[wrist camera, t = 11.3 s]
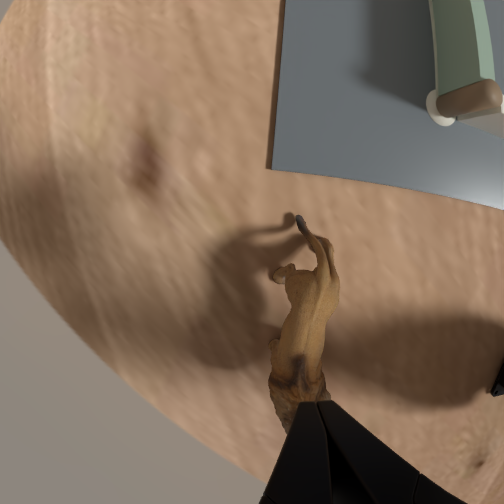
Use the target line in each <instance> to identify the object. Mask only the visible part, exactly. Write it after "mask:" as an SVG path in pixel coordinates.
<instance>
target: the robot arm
mask: <svg viewBox="0 0 504 504" xmlns="http://www.w3.org/2000/svg"><path fill="white" fill-rule="evenodd" d="M503 394H504V364H503V366H502V368H501V371H500V373H499V375H498V378H497V380H496V382H495V384H494V386H493V389H492V391H491V395H492V396H493V397H495V396H499V395H503ZM419 474H420V472H419V471H418V470H417V469H415V468H414V467H413V466H412V465H410V464H409V463H408V462H407V461H405V460H404V459H403V458H402V457H400V456H399V455H398V454H397V453H395V452H394V451H393V450H392V449H390V448H389V447H388V446H387V445H385V444H384V443H383V442H382V441H380V440H379V439H378V438H377V437H376V436H374V435H373V434H372V433H371V432H370V431H368V430H367V429H366V428H365V427H364V426H362V425H361V424H360V423H359V422H358V421H356V420H355V419H354V418H353V417H352V416H351V415H349V414H348V413H347V412H346V411H345V410H343V409H342V408H341V407H340V406H339V405H338V404H337V403H335V402H334V401H333V400H320V401H317V402H314V401H302V402H299V404H298V407H297V409H296V412H295V415H294V418H293V421H292V423H291V426H290V429H289V431H288V434H287V437H286V439H285V442H284V444H283V447H282V450H281V452H280V455H279V457H278V460H277V462H276V465H275V467H274V470H273V472H272V474H271V477H270V479H269V482H268V484H267V486H266V489H265V491H264V493H263V496H262V497H261V499H260V502H259V504H467V503H466V502H464V501H462V500H460V499H459V498H457V497H455V496H454V495H452V494H450V493H449V492H447V491H445V490H444V489H443V488H441V487H440V486H438V485H437V484H435V483H434V482H433V481H431V480H430V479H429V478H427V477H426V476H425V475H423V474H420V475H419Z"/></svg>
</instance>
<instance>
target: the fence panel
mask: <svg viewBox="0 0 504 504" xmlns="http://www.w3.org/2000/svg"><path fill="white" fill-rule="evenodd" d="M432 4H433V12H434V21H435V31H436V43H437V60H438V96H439V97H438V98H437V100H436V108H437V110H438V112H439V113H440V115H442V116H443V117H445V118H451V117H455V116H459V115H464V114H468V113H472V112H477V111H481V110H486V109H491V108H495V107H499V106H501V104H502V102H503V95H502V91H501V89H500V87H499V85H498V84H497V83H496V82H495V72H494V62H493V53H492V45H491V38H490V32H489V26H488V20H487V15H486V10H485V5H484V1H483V0H432Z"/></svg>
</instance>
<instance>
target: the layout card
mask: <svg viewBox="0 0 504 504" xmlns="http://www.w3.org/2000/svg"><path fill="white" fill-rule="evenodd" d="M483 1H484V5H485V10H486V15H487V20H488V26H489V32H490V38H491V45H492V53H493V62H494V72H495V82H496V83H497V84H498V85H499V87H500V89H501V91H502V94H503V95H504V0H483ZM438 97H439V96H438V60H437V43H436V31H435V21H434V12H433V4H432V0H286V2H285V15H284V28H283V41H282V53H281V66H280V78H279V90H278V101H277V113H276V124H275V136H274V147H273V158H272V169H271V170H279V171H288V172H297V173H306V174H314V175H322V176H330V177H337V178H344V179H351V180H358V181H365V182H371V183H377V184H383V185H389V186H395V187H401V188H406V189H411V190H417V191H422V192H427V193H432V194H437V195H442V196H447V197H451V198H456V199H460V200H465V201H469V202H474V203H478V204H482V205H486V206H490V207H494V208H498V209H502V210H504V139H503V138H500V137H498V136H496V135H493V134H491V133H488V132H486V131H483V130H480V129H478V128H475V127H472V126H470V125H467V124H464V123H461V122H459V121H457V120H458V116H455V117H451V118H445V117H443V116H442V115H440V113H439V112H438V110H437V108H436V100H437V98H438Z"/></svg>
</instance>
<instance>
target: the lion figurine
mask: <svg viewBox="0 0 504 504" xmlns="http://www.w3.org/2000/svg"><path fill="white" fill-rule="evenodd" d="M296 222H297V226H298V229H299V231H300V232H301V233H302V234H303V235H304V236H305V237H306V238H307V239H308V241H309V242H310V243H311V245H312V247H313V249H314V251H315V254H316V257H317V263H318V265H317V267H316V268H315V269H314V271H309V270H296V269H295V265H294V264H292V263H290V264H288V265H287V266H285V267H281V268H279V269H278V270H276V272H275V273H274V275H273V279H274V281H275V282H276V283H278V284H285V290H286V293H287V296H288V299H289V301H290V302H291V305H292V308H291V311H290V313H289V314H288V316H287V318H286V320H285V322H284V324H283V327H282V331H281V337H280V340H279V339H274V340H272V341H271V342H270V343H269V346H268V347H269V349H270V350H271V351H272V356H271V364H272V372H271V373H270V376H269V379H268V386H269V389H270V397H271V400H272V401H273V403H274V407H275V409H276V414H277V416H278V417H279V419H280V421H281V422H282V426H283V428H284V429H285V432H286V434H288V431H289V429H290V426H291V423H292V421H293V418H294V415H295V412H296V409H297V407H298V404H299V402H302V401H314V402H317V401H320V400H331V395H330V393H329V392H328V391H327V389H326V382H325V378H324V374H323V372H322V370H321V368H322V362H321V360H320V358H321V355H322V352H323V348H324V341H325V326H326V323H327V321H328V319H329V318H330V316H331V315H332V313H333V312H334V310H335V308H336V307H337V305H338V302H339V290H340V282H339V277H338V274H337V272H336V269H335V266H334V261H333V253H334V249H333V246H332V244H331V243H330V242H329V240H328V239H326V238H320V239H317V238H316V237H315V236H314V235H313V234H312V233H311V232H310V231H309V230H308V228H307V226H306V222H305V221H304V219H303V217H302V216H301V215H296Z"/></svg>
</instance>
